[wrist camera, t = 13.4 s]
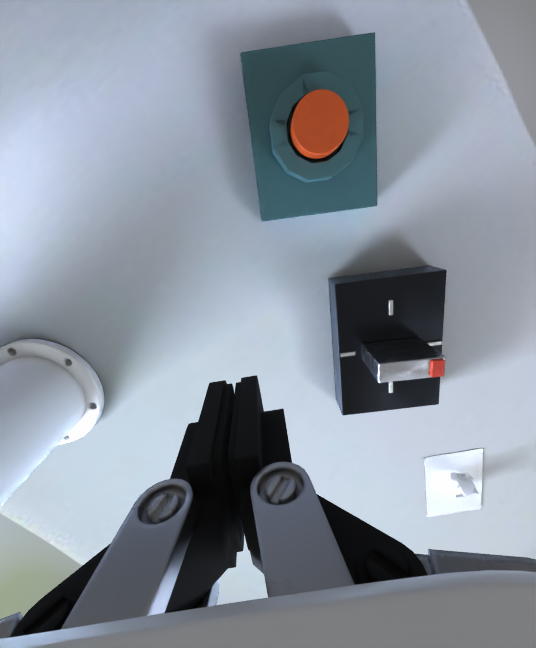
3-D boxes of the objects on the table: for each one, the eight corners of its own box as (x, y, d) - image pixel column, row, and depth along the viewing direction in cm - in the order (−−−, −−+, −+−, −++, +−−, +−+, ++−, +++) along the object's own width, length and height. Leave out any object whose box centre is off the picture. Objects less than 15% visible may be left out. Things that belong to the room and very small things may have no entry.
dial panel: (328, 278, 31) (335, 284, 28) (429, 265, 30) (447, 270, 27) (335, 399, 35) (342, 416, 32) (424, 389, 35) (439, 405, 32)
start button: (287, 102, 23) (289, 93, 21) (341, 94, 23) (348, 84, 21) (293, 162, 24) (295, 158, 22) (344, 155, 24) (350, 150, 22)
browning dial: (362, 360, 30) (379, 384, 26) (362, 343, 30) (379, 365, 25) (418, 354, 30) (446, 377, 25) (419, 336, 29) (447, 358, 25)
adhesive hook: (467, 467, 38) (484, 488, 35) (467, 483, 39) (483, 504, 36) (442, 471, 39) (457, 492, 36) (443, 487, 39) (457, 509, 36)
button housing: (242, 66, 25) (238, 38, 21) (365, 47, 25) (384, 16, 21) (261, 221, 29) (261, 221, 25) (369, 206, 28) (385, 204, 25)
